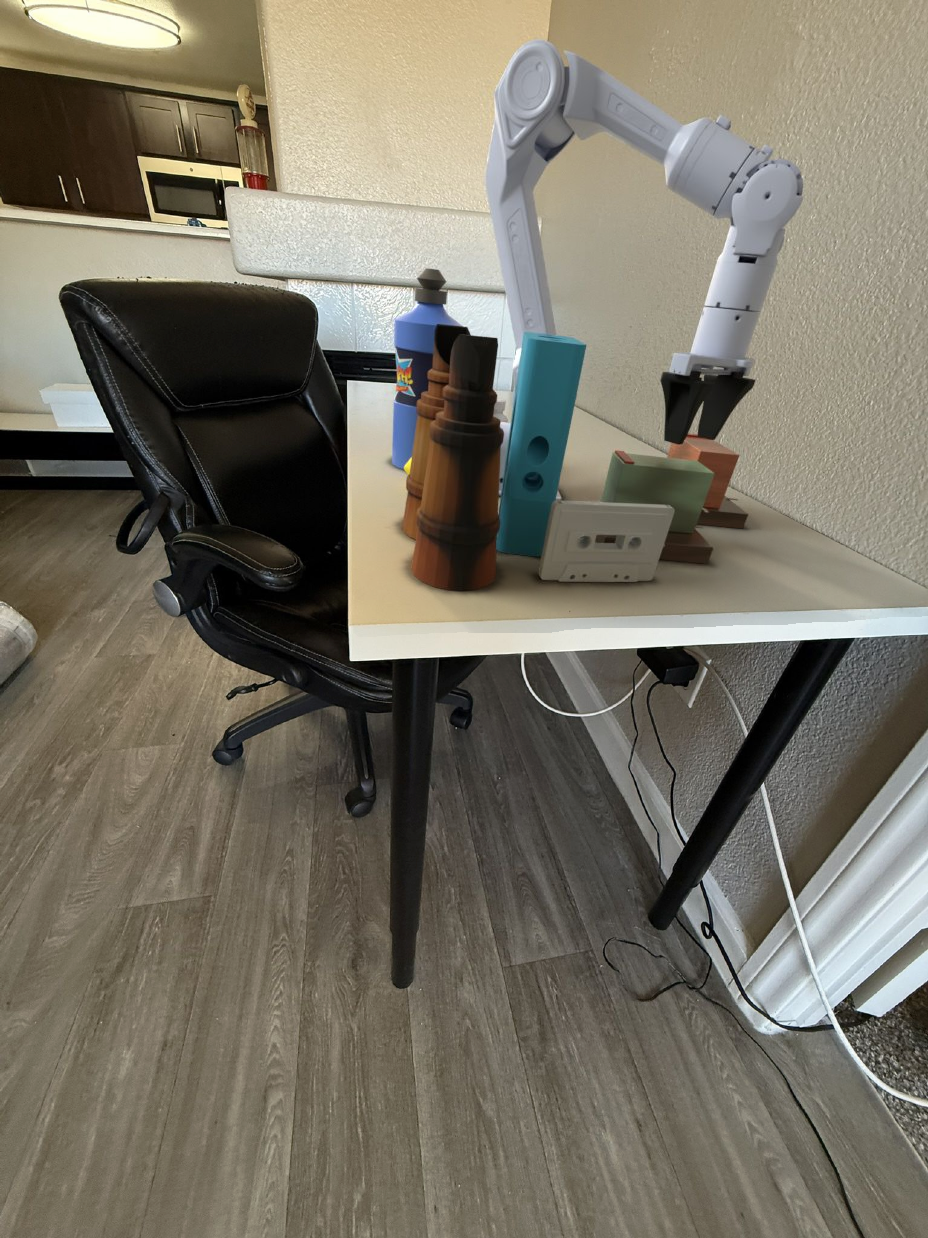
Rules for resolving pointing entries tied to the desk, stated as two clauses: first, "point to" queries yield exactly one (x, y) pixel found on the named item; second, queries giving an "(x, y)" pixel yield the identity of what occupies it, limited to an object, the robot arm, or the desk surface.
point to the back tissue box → (708, 463)
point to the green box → (659, 485)
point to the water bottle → (415, 358)
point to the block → (537, 439)
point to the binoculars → (456, 465)
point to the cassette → (604, 562)
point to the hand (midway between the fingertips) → (690, 440)
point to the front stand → (677, 546)
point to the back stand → (724, 515)
